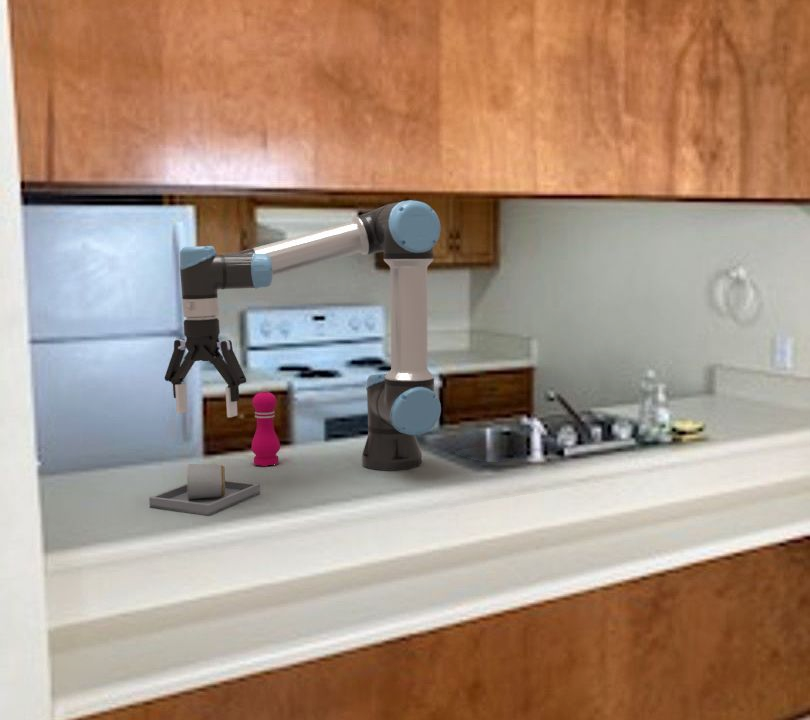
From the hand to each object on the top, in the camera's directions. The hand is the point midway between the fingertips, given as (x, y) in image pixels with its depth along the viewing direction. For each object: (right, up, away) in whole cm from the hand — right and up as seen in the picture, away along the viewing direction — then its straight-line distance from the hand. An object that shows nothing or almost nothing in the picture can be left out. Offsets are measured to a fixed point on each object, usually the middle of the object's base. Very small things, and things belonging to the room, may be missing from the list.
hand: (206, 414), depth 201 cm
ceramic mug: (-1, -18, +2) cm, 18 cm away
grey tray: (0, -19, +1) cm, 19 cm away
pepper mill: (+8, -15, +33) cm, 37 cm away
